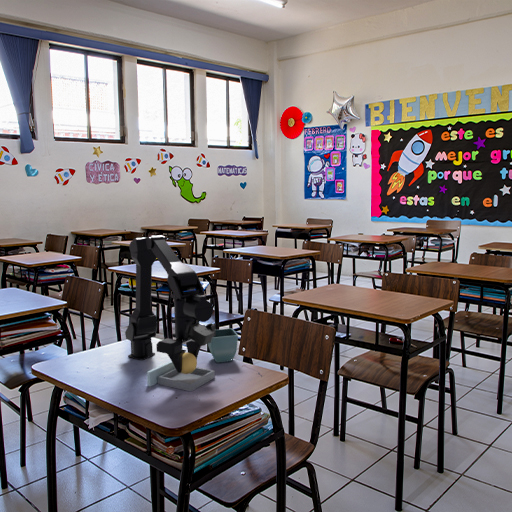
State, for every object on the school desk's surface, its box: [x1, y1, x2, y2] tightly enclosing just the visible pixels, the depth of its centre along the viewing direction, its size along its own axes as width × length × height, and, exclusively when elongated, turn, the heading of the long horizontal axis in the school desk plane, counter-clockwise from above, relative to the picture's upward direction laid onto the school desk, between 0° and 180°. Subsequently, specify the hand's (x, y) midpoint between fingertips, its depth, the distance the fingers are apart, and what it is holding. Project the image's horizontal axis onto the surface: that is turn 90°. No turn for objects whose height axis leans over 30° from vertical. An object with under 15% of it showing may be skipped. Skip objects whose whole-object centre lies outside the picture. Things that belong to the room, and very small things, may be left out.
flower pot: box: [207, 328, 239, 364], centre depth 158 cm, size 9×9×9 cm
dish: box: [157, 366, 216, 392], centre depth 140 cm, size 11×11×2 cm
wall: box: [146, 360, 175, 387], centre depth 143 cm, size 1×14×4 cm, turn 150°
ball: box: [181, 351, 198, 374], centre depth 140 cm, size 6×6×6 cm
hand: (186, 368), depth 140 cm, fingers closed on ball, 6 cm apart
